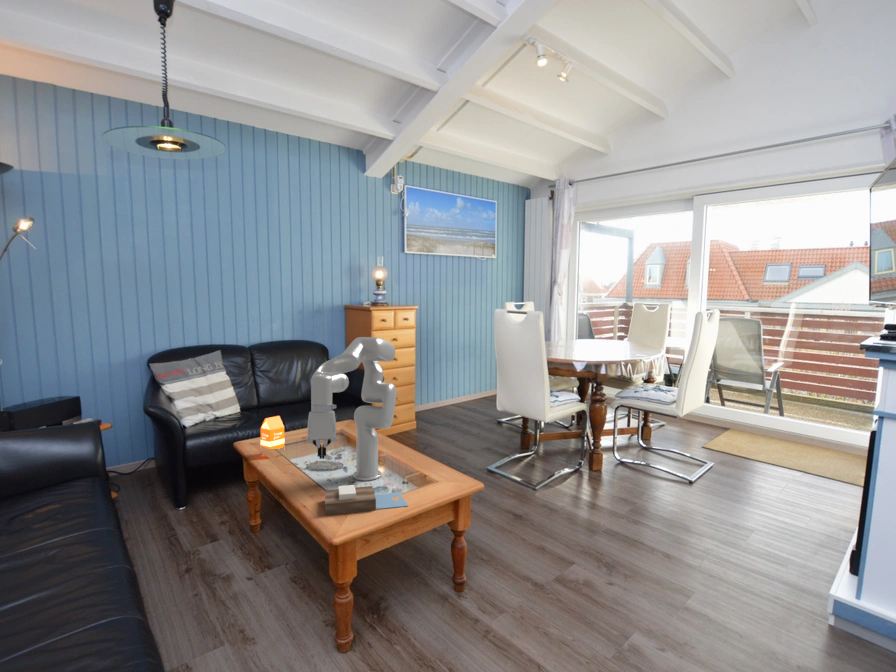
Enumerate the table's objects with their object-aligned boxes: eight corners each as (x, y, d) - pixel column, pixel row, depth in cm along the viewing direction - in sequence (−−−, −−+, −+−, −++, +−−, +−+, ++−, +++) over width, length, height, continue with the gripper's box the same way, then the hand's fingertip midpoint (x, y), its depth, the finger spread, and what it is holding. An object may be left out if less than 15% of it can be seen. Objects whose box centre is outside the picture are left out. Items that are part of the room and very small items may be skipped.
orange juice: (284, 454, 237) (284, 416, 236) (270, 458, 229) (269, 419, 228) (275, 452, 241) (274, 414, 240) (260, 456, 233) (260, 417, 233)
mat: (372, 495, 181) (372, 494, 181) (402, 492, 184) (402, 492, 184) (375, 509, 167) (375, 508, 167) (407, 506, 170) (407, 505, 170)
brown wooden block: (325, 500, 176) (325, 490, 176) (372, 496, 180) (372, 486, 180) (325, 515, 162) (324, 504, 162) (375, 510, 167) (375, 499, 167)
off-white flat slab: (338, 491, 175) (338, 486, 175) (354, 489, 176) (354, 484, 176) (339, 500, 166) (339, 494, 166) (356, 498, 167) (356, 493, 167)
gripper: (342, 405, 173) (342, 453, 174) (301, 407, 169) (301, 456, 170) (342, 409, 166) (342, 459, 166) (299, 411, 162) (300, 462, 163)
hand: (321, 457), depth 168 cm, fingers closed
